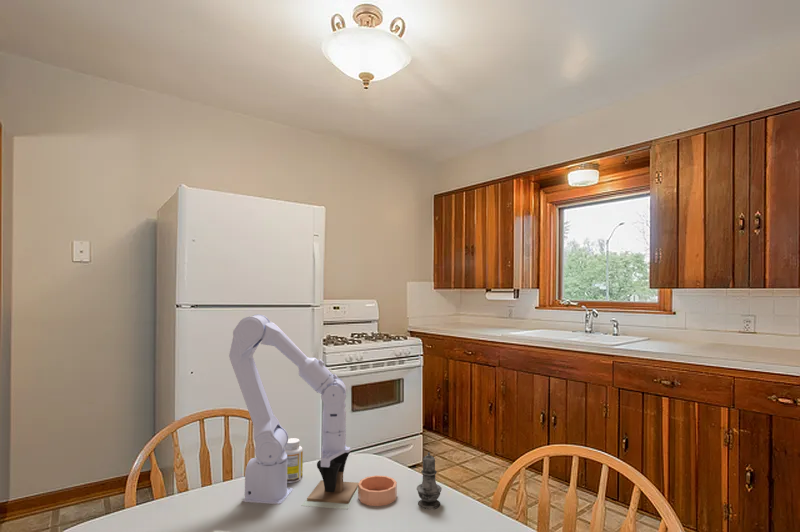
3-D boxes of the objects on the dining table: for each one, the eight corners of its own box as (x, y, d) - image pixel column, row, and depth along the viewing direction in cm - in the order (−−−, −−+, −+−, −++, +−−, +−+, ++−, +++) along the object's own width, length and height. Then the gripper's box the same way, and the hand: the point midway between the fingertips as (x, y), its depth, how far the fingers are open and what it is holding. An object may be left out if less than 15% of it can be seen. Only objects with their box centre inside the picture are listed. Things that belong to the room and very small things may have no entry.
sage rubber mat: (301, 507, 105) (301, 505, 105) (320, 481, 118) (320, 480, 119) (347, 510, 103) (347, 509, 103) (362, 484, 117) (362, 482, 117)
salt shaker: (440, 511, 103) (439, 457, 103) (414, 508, 104) (414, 455, 104) (443, 499, 108) (442, 448, 109) (418, 497, 110) (418, 446, 110)
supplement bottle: (292, 473, 124) (292, 435, 124) (306, 478, 120) (307, 439, 121) (276, 481, 119) (276, 441, 119) (290, 486, 116) (291, 445, 116)
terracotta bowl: (354, 505, 105) (354, 490, 105) (363, 488, 114) (363, 474, 114) (392, 508, 104) (392, 493, 104) (399, 491, 113) (398, 476, 113)
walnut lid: (307, 500, 107) (307, 480, 107) (320, 482, 117) (320, 464, 117) (348, 503, 106) (348, 483, 106) (358, 485, 115) (358, 466, 116)
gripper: (341, 440, 104) (341, 500, 104) (357, 421, 119) (357, 474, 118) (312, 438, 105) (311, 498, 105) (331, 420, 120) (330, 473, 119)
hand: (333, 485), depth 111 cm, fingers open, 5 cm apart
